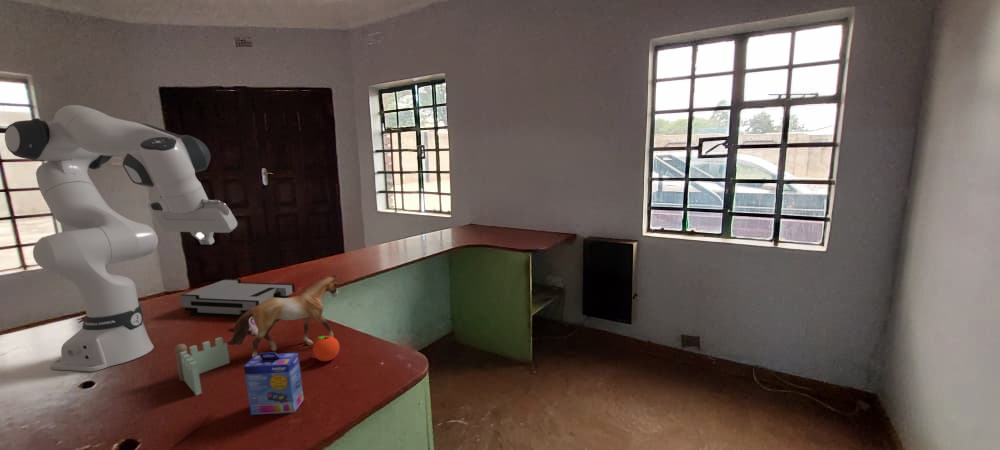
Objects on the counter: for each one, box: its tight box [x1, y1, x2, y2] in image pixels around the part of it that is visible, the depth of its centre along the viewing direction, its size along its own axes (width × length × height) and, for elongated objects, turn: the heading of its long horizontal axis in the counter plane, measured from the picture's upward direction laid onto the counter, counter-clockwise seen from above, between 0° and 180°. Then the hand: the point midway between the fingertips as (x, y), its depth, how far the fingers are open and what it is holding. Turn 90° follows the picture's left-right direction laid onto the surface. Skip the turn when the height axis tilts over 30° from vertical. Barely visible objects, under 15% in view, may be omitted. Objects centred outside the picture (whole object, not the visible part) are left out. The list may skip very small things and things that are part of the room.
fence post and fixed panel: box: [173, 336, 230, 382], centre depth 106 cm, size 11×3×10 cm, turn 144°
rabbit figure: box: [248, 316, 258, 337], centre depth 133 cm, size 6×6×15 cm
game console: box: [179, 278, 296, 319], centre depth 156 cm, size 21×32×8 cm, turn 80°
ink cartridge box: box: [243, 351, 305, 416], centre depth 90 cm, size 10×6×14 cm, turn 95°
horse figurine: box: [227, 274, 340, 358], centre depth 117 cm, size 31×8×21 cm, turn 123°
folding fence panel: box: [180, 351, 203, 396], centre depth 98 cm, size 10×1×8 cm, turn 51°
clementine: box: [312, 335, 341, 362], centre depth 113 cm, size 8×7×7 cm
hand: (208, 243), depth 111 cm, fingers closed
